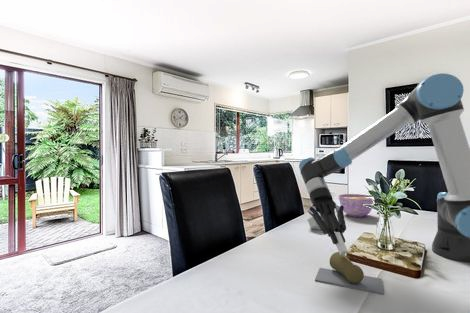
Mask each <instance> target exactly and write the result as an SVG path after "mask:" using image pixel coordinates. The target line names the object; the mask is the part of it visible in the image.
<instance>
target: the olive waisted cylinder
mask: <svg viewBox="0 0 470 313" xmlns="http://www.w3.org/2000/svg"><path fill="white" fill-rule="evenodd" d="M329 265H330V267H331V268H332V270H336V271H338V272H339V273H341V274H343V275H344V276H345V277H346V279H347V280H348V281H349V282H351V283H354V284H357V283H360V282H361V281H362V280H363V277H364V276H365V275H364V274H365V272H364V271H363V270H362V268H361V267H360V266H359V265H357V264H354V263H353V262H352V261H351V260H350V258H349V257H348V256H347V255H346V254H345V255H340V254H339V251H336V252H334V253H332V254H331V256H330V257H329Z"/></svg>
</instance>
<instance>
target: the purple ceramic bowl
mask: <svg viewBox="0 0 470 313" xmlns="http://www.w3.org/2000/svg"><path fill="white" fill-rule="evenodd" d="M364 196H368V194H360V193H357V194H356V193H344V194H340V195H338V201H339V204H340V205H339V206H343V207H344V209H343V213H345V214H347V215H348V216H350V217H354V218H362V217H364V216H368V215H369V214H370V213H371V212H372V209H373V207H372V208H369V207H366V206H363V204H373V205H374V202H373V201H372V199H371V198H362V197H364Z"/></svg>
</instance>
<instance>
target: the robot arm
mask: <svg viewBox="0 0 470 313" xmlns="http://www.w3.org/2000/svg"><path fill="white" fill-rule="evenodd" d="M464 91H465V90H464V84H463V83H462V81H461V79H459V77H456V76H455V75H453V74H450V73H436V74H432V75H430V76H428V77H426V78H424V79H423V80H421V81H420V82H419V83H418V84H417V86H416V87H415V88H414V89H413V90H412V91H411V92H410V93H409V94H408V95H407V96H406V97H405V98H403V100H401V101H400V102H398V103H397V104H396V105H395V108H394V109H393V110H392V111H390V112H389V113H387V114H386V115H385V116H383V117H382V118H380V119H378V120H377V121H376V122H373V124H371V125H370V126H368V127H367V128H365V129H364V130H362V131H361V132H359V134H357V135H355V136H354V137H352V138H351V139H349V140H348V141H347V142H345V143H344V144H343V145H341V146H339V147H338V148H336V149H334V150H332V151H331V152H329V153H326V154H324V155H323V156H321V157H319V158H317V159H315V158H314V157H306V158H303V159H302V160H300V162H299V164H298V169H299V174H300V175H301V177H302V180H303V182H304V185H305V188H306V191H307V193H308V196H309V198H310V201H311V204H312V206H309V209H308V211H307V212H308V214H309V216H310V215H312V216H313V218H314V220H315V221H316V223H317V224H318V226H319V227H320V229H321V230H320V231H321V233H322V234H323V235H327V237H329V238H330V239H331V241H332V244H333V245H335V246H336V248H337V252H339V254H340V255H346V254H347V253H348V249H347V246H346V244H345V243H346V239H345V236H344V233H345V231H346V230H347V226H346V220H345V216H344V211H343V209H344V207H343V206H341V205H337V203H336V201H334V200H333V199H334V198H333V195H332V193H331V191H330V189H329V186H328V184H327V182H326V180H325V178H326V177H327V176H329V175H331V174H334V173H336V172H338V171H340V170H342V169H346V168H347V167H348V166H350V165H352V164H353V160H355V159H356V158H358V157H360V156H361V155H363V154H365V153H366V152H367V151H369V150H370V149H372V148H373V147H375V146H376V145H378V144H380V143H381V142H383V141H384V140H386V139H387V138H389V137H390V136H392V135H394V134H395V133H397V132H398V131H399V130H401V129H403V128H404V127H405V126H407V125H410V124H415V123H417V122H418V121H420V122H422V123H424V124H426V125H427V127H428V131H429V134H430V136H431V140H432V143H433V146H434V147H433V148H434V150H435V152H436V156H437V159H438V163H439V166H440V169H441V173H442V177H443V180H444V182H445V183H444V184H445V187H446V189H447V192H446V191H444V192H443V191H441V192H439V193H438V194H437V197H436V198H437V199H436V203H437V204H436V206H437V207H436V211H437V212H436V214H437V215H436V216H437V217H436V218H437V221H436V222H437V223H436V224H437V225H436V226H437V231H436V234H435V237H434V238H433V241H432V243H431V250H432V252H433V253H435V254H437V255H438V256H441V257H444V258H447V259H450V260H451V259H452V260H454V261H455V260H456V261H460V262H465V263H466V262H468V263H470V145H469V143H468V142H469V141H468V138H467V135H466V132H465V130H464V126H463V122H462V120H461V115H462V114H463V112H464V110H465V108H464V104H463V102H462V98H463V95H464ZM319 213H320V215H321V216H320V215H319ZM336 213H337V214H336ZM322 218H323V219H322Z"/></svg>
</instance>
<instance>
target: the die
mask: <svg viewBox="0 0 470 313" xmlns="http://www.w3.org/2000/svg"><path fill="white" fill-rule="evenodd" d="M318 213H319V212H318ZM319 215H320V213H319ZM320 216H321V215H320ZM322 219H323V218H322ZM307 223H308V225H309V227H310V230H319V231H321V229H320V227H319V226H318V224H317V223H316V221H315V220H314V218H313V216H312V215H310V214H309V215H308V218H307Z"/></svg>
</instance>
